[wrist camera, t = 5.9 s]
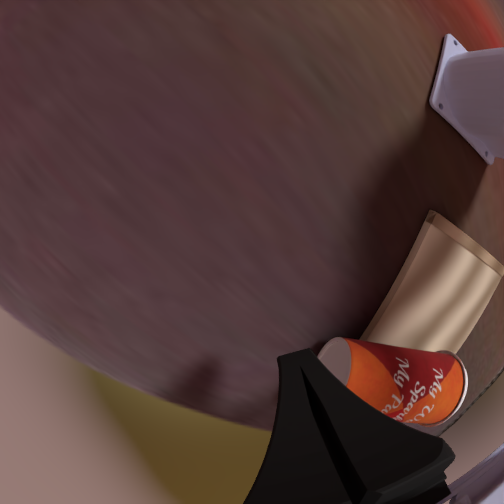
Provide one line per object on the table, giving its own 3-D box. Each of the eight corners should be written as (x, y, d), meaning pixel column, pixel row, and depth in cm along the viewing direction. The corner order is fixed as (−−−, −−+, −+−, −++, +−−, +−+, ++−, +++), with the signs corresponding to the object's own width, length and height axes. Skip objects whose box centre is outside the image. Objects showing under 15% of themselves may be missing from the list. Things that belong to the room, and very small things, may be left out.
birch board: (501, 265, 22) (506, 268, 21) (422, 387, 28) (425, 392, 27) (429, 209, 18) (436, 212, 17) (326, 384, 24) (329, 391, 23)
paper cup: (377, 365, 14) (485, 381, 15) (339, 304, 21) (444, 337, 23) (311, 445, 16) (432, 442, 17) (296, 377, 23) (404, 394, 25)
